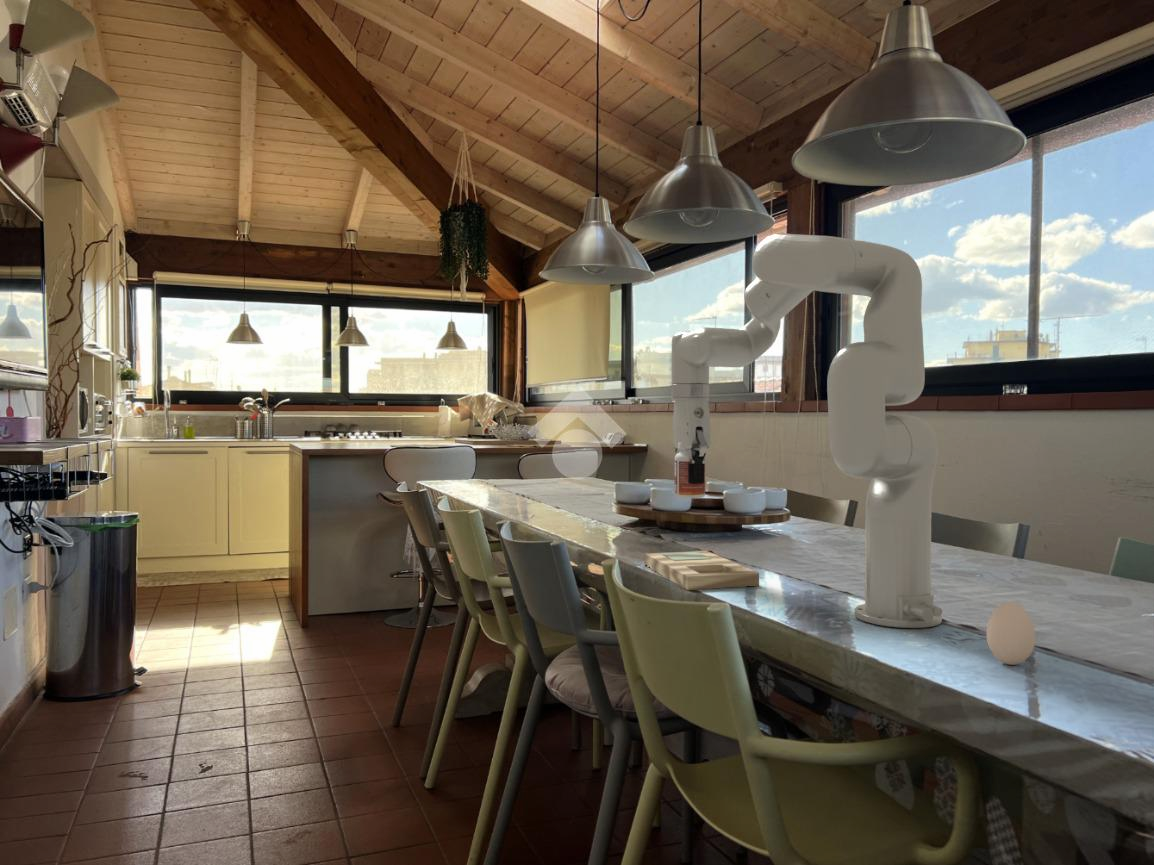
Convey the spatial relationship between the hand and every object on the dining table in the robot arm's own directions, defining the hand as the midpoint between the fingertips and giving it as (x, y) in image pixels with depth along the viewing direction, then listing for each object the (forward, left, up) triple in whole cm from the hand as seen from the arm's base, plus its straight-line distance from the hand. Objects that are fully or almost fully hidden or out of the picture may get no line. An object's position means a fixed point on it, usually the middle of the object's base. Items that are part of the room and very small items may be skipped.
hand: (689, 481), depth 169 cm
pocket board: (-4, 0, -18) cm, 19 cm away
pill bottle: (0, 0, -3) cm, 3 cm away
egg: (-69, -17, -19) cm, 74 cm away
